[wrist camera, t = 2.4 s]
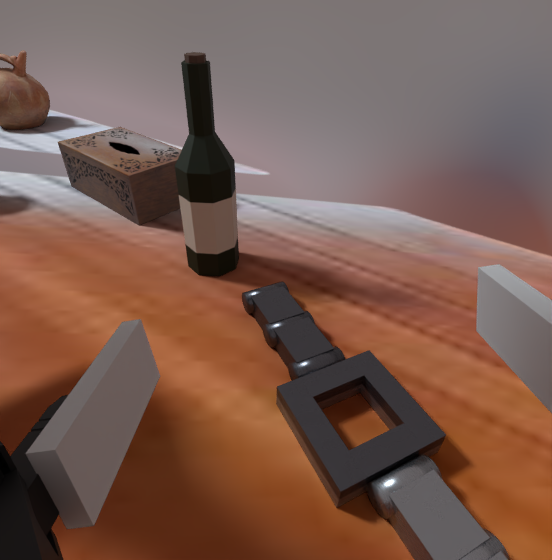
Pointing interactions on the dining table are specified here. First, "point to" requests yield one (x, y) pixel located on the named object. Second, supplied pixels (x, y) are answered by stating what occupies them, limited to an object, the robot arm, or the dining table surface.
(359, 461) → the chain ends
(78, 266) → the dining table surface
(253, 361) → the dining table surface
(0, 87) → the jug
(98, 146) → the tissue box cover
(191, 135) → the wine bottle
